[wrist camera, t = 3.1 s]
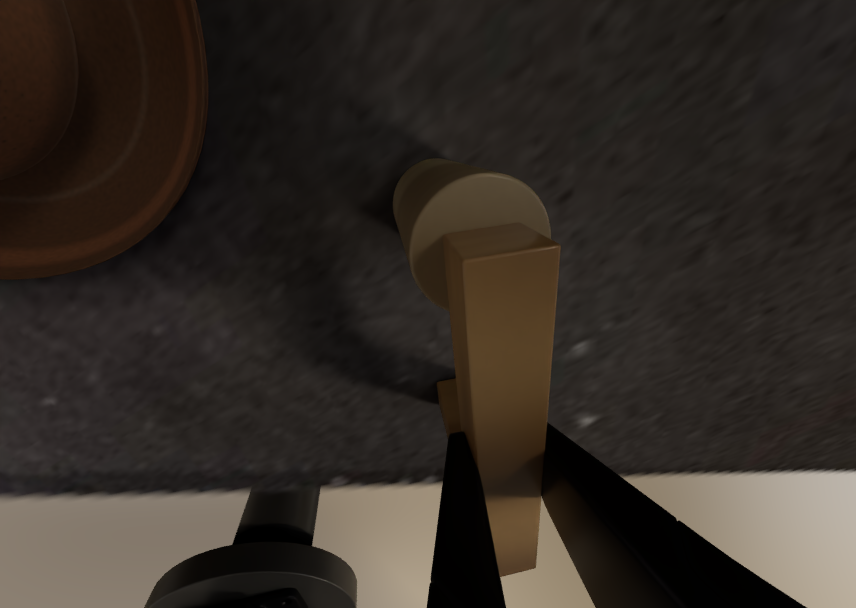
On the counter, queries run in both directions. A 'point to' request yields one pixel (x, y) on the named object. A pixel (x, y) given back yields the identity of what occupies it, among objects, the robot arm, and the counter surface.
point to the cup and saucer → (94, 126)
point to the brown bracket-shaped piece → (490, 328)
